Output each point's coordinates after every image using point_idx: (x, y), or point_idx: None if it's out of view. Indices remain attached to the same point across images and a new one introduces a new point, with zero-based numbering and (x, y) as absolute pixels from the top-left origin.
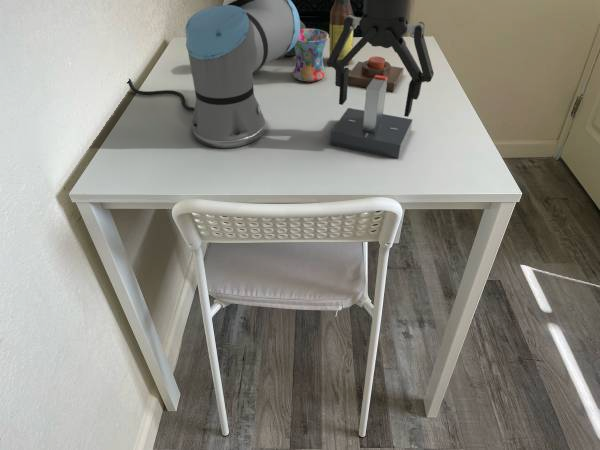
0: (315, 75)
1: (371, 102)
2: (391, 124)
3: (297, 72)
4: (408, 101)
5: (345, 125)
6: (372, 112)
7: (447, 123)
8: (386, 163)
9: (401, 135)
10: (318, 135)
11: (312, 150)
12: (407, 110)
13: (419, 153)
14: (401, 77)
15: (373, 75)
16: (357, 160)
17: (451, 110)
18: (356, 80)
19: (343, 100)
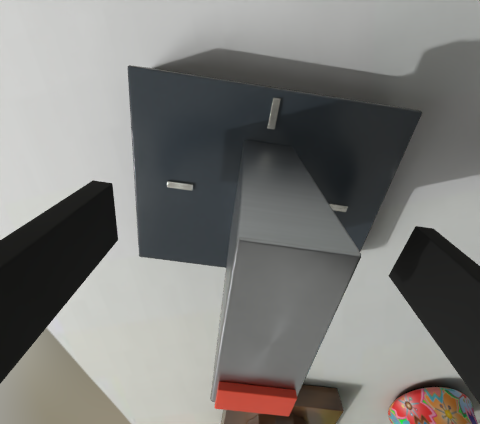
0: (421, 405)
1: (284, 192)
2: (195, 214)
3: (470, 410)
4: (46, 220)
5: (359, 172)
6: (266, 168)
7: (80, 286)
8: (182, 20)
9: (144, 147)
10: (429, 157)
11: (466, 44)
12: (81, 194)
13: (96, 123)
14: (222, 417)
15: (281, 417)
16: (290, 11)
17: (91, 334)
18: (317, 399)
19: (420, 246)
